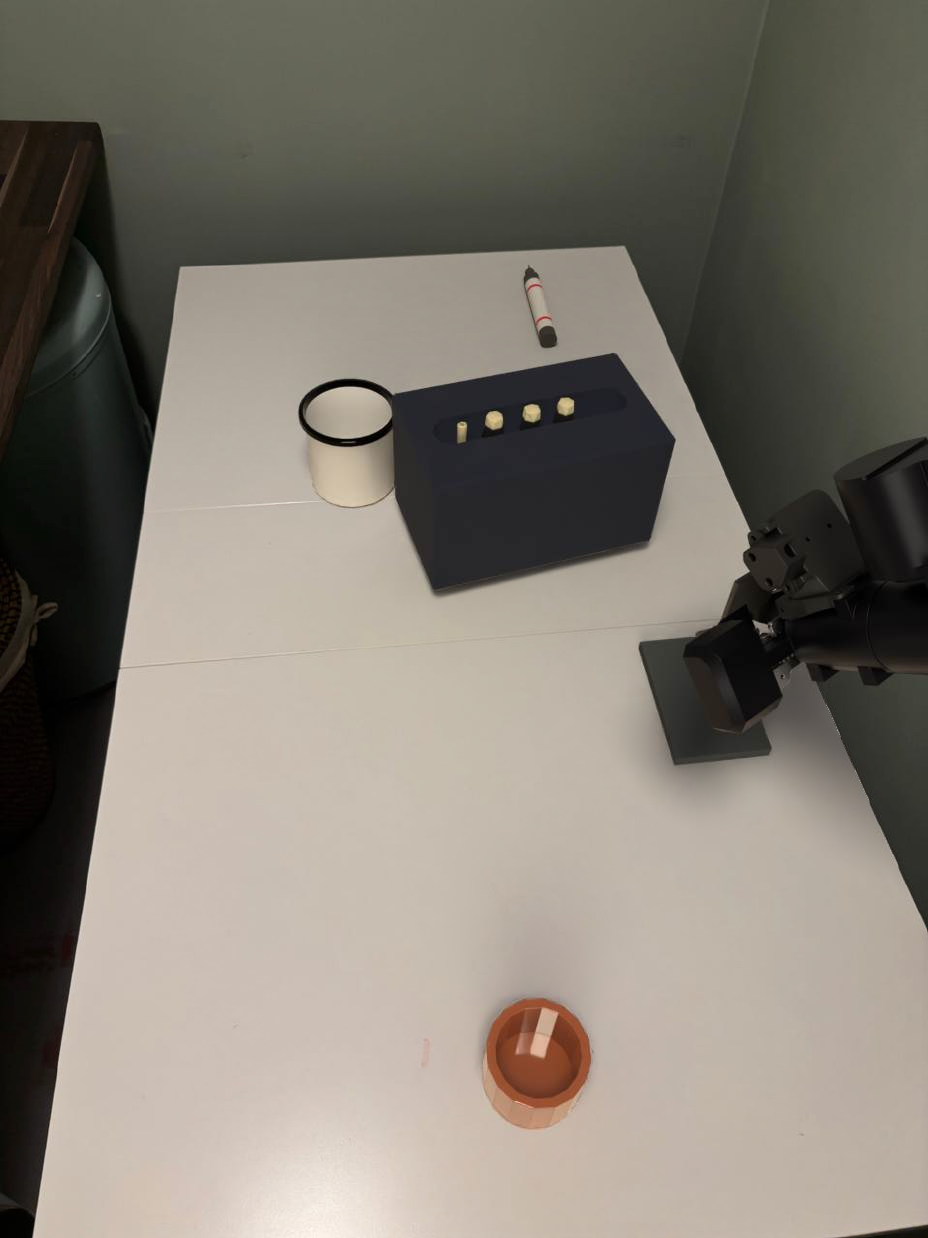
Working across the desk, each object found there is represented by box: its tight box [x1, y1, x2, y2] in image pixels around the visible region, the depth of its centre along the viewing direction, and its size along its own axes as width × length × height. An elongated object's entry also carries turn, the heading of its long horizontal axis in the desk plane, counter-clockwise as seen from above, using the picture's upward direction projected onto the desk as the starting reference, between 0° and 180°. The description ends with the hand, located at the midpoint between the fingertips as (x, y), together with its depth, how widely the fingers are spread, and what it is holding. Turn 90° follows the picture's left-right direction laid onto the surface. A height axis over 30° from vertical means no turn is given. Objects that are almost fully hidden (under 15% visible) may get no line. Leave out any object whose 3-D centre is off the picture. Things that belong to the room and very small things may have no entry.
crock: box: [482, 997, 592, 1130], centre depth 63 cm, size 6×6×6 cm
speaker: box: [391, 352, 677, 591], centre depth 90 cm, size 22×13×15 cm, turn 108°
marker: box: [523, 264, 558, 348], centre depth 119 cm, size 15×2×2 cm, turn 7°
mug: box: [297, 378, 395, 508], centre depth 97 cm, size 12×10×9 cm
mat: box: [638, 636, 773, 766], centre depth 84 cm, size 12×8×1 cm, turn 8°
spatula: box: [719, 571, 772, 621], centre depth 71 cm, size 2×5×14 cm, turn 126°
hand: (721, 623), depth 72 cm, fingers closed on spatula, 4 cm apart
